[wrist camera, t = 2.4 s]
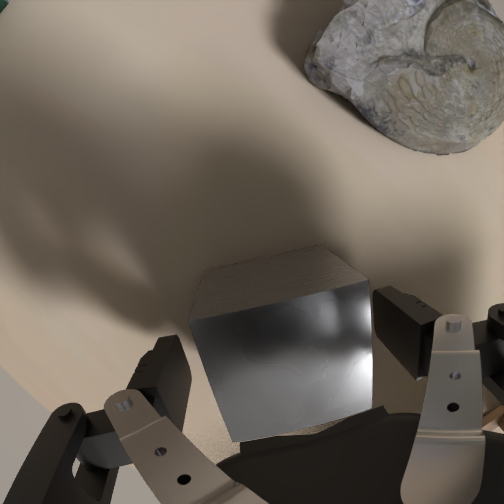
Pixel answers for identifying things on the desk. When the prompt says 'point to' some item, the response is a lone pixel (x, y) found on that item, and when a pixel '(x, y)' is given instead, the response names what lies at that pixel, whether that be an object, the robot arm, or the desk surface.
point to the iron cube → (285, 341)
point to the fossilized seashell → (416, 69)
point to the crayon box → (3, 4)
